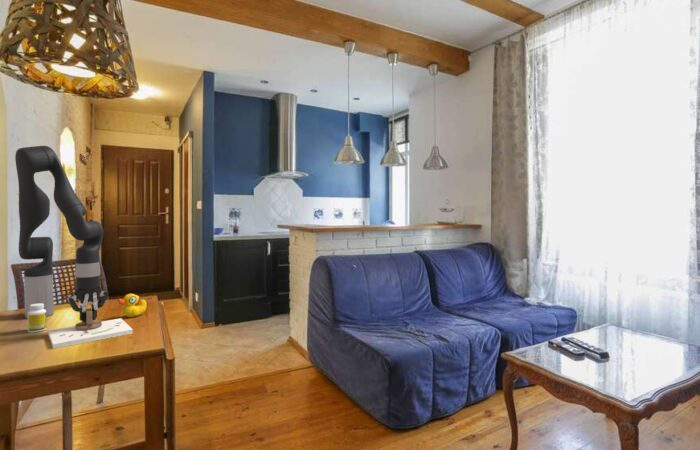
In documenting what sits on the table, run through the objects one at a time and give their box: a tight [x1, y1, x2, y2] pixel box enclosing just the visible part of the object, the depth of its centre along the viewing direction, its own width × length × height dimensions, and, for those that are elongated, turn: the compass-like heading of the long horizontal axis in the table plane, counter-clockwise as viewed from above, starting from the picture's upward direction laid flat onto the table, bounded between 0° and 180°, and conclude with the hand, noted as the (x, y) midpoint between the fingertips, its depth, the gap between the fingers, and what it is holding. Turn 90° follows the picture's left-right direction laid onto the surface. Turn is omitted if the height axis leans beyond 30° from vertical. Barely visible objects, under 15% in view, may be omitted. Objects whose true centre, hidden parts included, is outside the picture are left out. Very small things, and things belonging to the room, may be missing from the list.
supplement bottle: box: [27, 303, 47, 333], centre depth 138 cm, size 5×5×10 cm
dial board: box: [47, 317, 134, 350], centre depth 135 cm, size 18×23×2 cm
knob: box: [74, 307, 103, 330], centre depth 137 cm, size 12×8×6 cm, turn 41°
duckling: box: [117, 293, 147, 318], centre depth 157 cm, size 11×5×10 cm, turn 148°
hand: (88, 320), depth 138 cm, fingers closed on knob, 2 cm apart
